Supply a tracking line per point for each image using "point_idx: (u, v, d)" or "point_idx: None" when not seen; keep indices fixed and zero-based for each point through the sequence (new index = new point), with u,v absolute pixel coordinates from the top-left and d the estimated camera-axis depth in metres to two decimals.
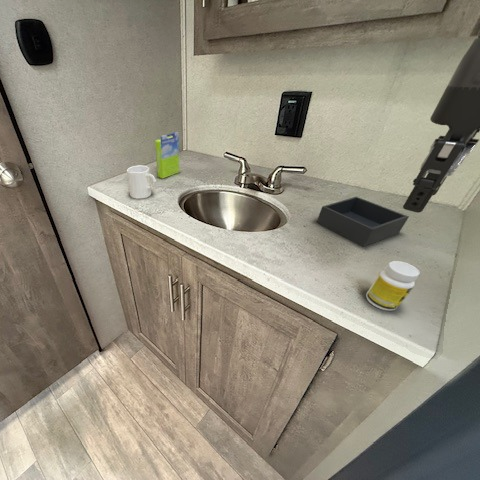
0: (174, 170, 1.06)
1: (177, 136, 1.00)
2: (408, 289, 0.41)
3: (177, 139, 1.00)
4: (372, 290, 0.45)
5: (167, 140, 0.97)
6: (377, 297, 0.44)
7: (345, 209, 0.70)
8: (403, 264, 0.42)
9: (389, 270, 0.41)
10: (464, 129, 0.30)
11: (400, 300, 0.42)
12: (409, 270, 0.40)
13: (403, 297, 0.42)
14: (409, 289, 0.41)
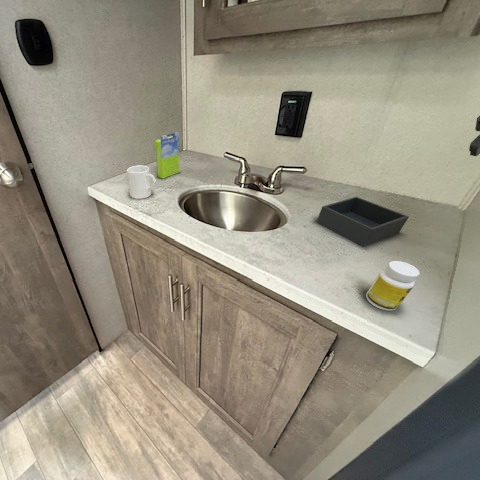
0: (174, 170, 1.06)
1: (177, 136, 1.00)
2: (408, 289, 0.41)
3: (177, 139, 1.00)
4: (372, 290, 0.45)
5: (167, 140, 0.97)
6: (377, 297, 0.44)
7: (345, 209, 0.70)
8: (403, 264, 0.42)
9: (389, 270, 0.41)
10: None
11: (400, 300, 0.42)
12: (409, 270, 0.40)
13: (403, 297, 0.42)
14: (409, 289, 0.41)
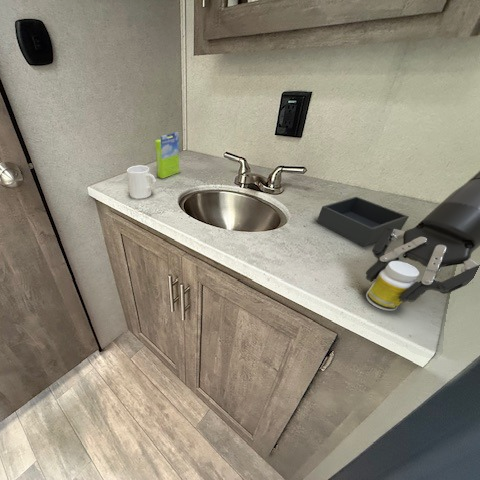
0: (174, 170, 1.06)
1: (177, 136, 1.00)
2: None
3: (177, 139, 1.00)
4: (372, 290, 0.45)
5: (167, 140, 0.97)
6: (377, 297, 0.44)
7: (345, 209, 0.70)
8: (403, 264, 0.42)
9: (389, 270, 0.41)
10: None
11: None
12: (409, 270, 0.40)
13: None
14: None
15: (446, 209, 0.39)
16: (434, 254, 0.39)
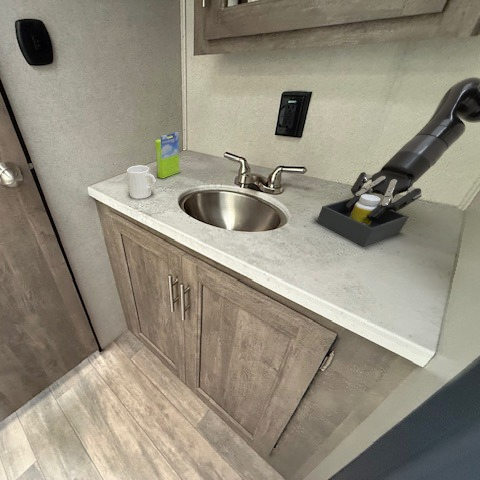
0: (174, 170, 1.06)
1: (177, 136, 1.00)
2: None
3: (177, 139, 1.00)
4: (350, 216, 0.65)
5: (167, 140, 0.97)
6: None
7: (345, 209, 0.70)
8: (370, 195, 0.62)
9: (361, 199, 0.61)
10: None
11: (369, 220, 0.62)
12: (374, 198, 0.60)
13: None
14: None
15: (397, 156, 0.59)
16: (389, 186, 0.59)
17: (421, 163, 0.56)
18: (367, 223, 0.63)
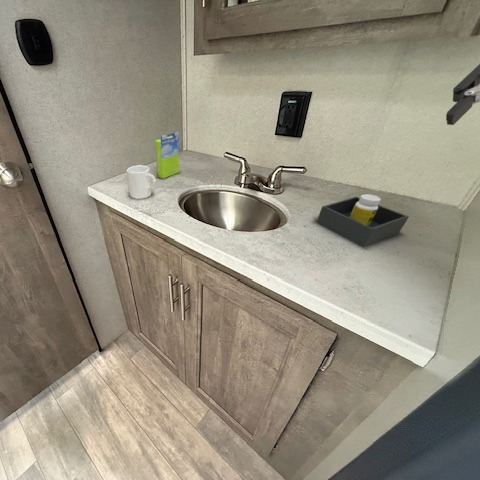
0: (174, 170, 1.06)
1: (177, 136, 1.00)
2: (373, 210, 0.60)
3: (177, 139, 1.00)
4: (350, 216, 0.65)
5: (167, 140, 0.97)
6: None
7: (345, 209, 0.70)
8: (370, 195, 0.62)
9: (361, 199, 0.61)
10: None
11: (369, 220, 0.62)
12: (374, 198, 0.60)
13: (370, 218, 0.62)
14: (374, 211, 0.61)
15: None
16: None
17: None
18: (367, 223, 0.63)
